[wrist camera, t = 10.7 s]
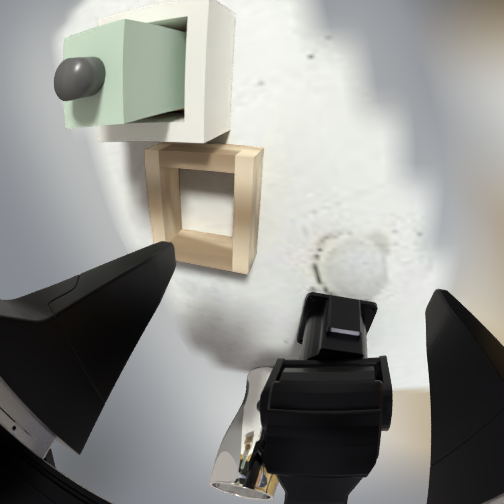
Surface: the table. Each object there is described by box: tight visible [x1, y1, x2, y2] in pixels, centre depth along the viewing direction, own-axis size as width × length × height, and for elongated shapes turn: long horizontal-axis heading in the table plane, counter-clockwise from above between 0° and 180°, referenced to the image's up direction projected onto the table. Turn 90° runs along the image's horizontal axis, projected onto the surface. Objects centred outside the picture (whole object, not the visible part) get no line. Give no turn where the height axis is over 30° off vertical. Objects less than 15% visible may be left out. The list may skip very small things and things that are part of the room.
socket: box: [97, 0, 236, 143], centre depth 16 cm, size 9×8×5 cm
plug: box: [54, 19, 187, 129], centre depth 13 cm, size 5×4×10 cm
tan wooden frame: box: [144, 142, 264, 274], centre depth 22 cm, size 9×8×3 cm
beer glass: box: [209, 367, 279, 500], centre depth 28 cm, size 7×7×15 cm
